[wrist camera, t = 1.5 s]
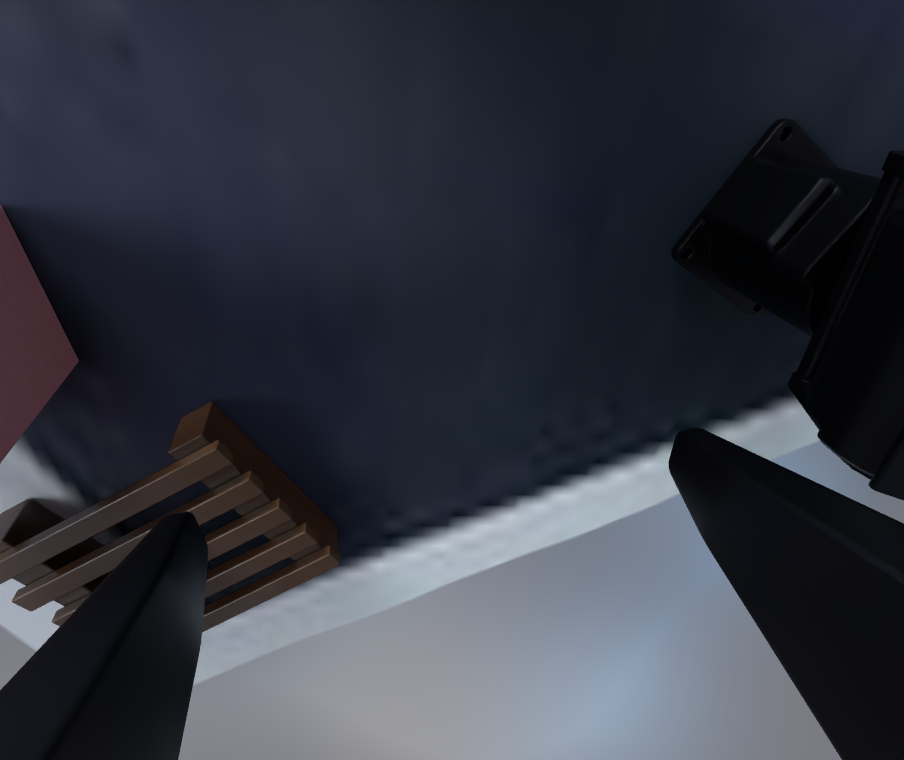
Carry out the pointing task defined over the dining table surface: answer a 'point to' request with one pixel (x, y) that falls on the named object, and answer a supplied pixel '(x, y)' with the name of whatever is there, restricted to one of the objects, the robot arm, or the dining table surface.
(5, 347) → the box
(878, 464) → the robot arm
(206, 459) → the rack
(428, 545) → the dining table surface
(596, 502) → the dining table surface
